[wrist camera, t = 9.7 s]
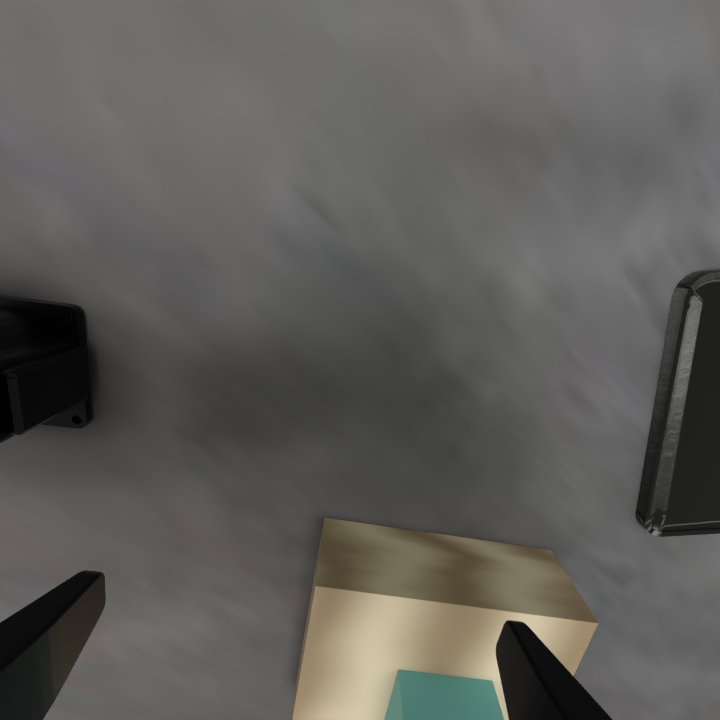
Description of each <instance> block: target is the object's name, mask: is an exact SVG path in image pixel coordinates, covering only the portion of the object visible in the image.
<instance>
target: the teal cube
mask: <svg viewBox="0 0 720 720" xmlns="http://www.w3.org/2000/svg"><path fill="white" fill-rule="evenodd" d="M384 720H504V717H503V714H502V710H501V707H500V704H499V701H498V697H497V694H496V691H495V688H494V684H493V681H490V680H482V679H474V678H465V677H457V676H449V675H441V674H433V673H425V672H416V671H408V670H400V669H398V672H397V676H396V679H395V683H394V687H393V690H392V694H391V697H390V701H389V704H388V708H387V712H386V715H385V719H384Z"/></svg>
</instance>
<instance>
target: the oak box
mask: <svg viewBox="0 0 720 720" xmlns="http://www.w3.org/2000/svg"><path fill="white" fill-rule="evenodd" d="M507 620H512V621H521V622H524V623H525V624H526V625H528V626H529V628H530V629H531V630H532V631H533V632H534V633H535V634H536V635H537V636H538V638H539V639H540V640H541V641H542V642H543V643H544V644H545V645H546V646H547V648H548V649H549V650H550V651H551V652H552V653H553V654H554V655H555V656H556V658H557V659H558V660H559V661H560V662H561V663H562V664H563V665H564V666H565V668H566V669H567V670H568V671H569V672H570V673H571V674H572V675H574V673H575V671H576V669H577V667H578V665H579V663H580V661H581V659H582V657H583V654H584V652H585V650H586V648H587V646H588V644H589V642H590V640H591V638H592V636H593V633H594V631H595V629H596V627H597V625H598V622H597V621H596V619H595V617H594V616H593V614H592V613H591V611H590V610H589V608H588V607H587V605H586V603H585V602H584V600H583V599H582V597H581V596H580V594H579V592H578V591H577V589H576V588H575V586H574V585H573V583H572V582H571V580H570V578H569V577H568V575H567V574H566V572H565V571H564V569H563V568H562V566H561V564H560V563H559V561H558V560H557V558H556V557H555V555H554V554H553V552H552V550H548V549H541V548H534V547H527V546H520V545H513V544H506V543H499V542H492V541H485V540H478V539H471V538H464V537H457V536H450V535H443V534H436V533H429V532H422V531H415V530H408V529H401V528H394V527H387V526H380V525H372V524H365V523H358V522H351V521H344V520H337V519H330V518H324V523H323V529H322V535H321V541H320V547H319V552H318V558H317V564H316V570H315V576H314V581H313V587H312V593H311V599H310V605H309V610H308V616H307V622H306V628H305V634H304V639H303V645H302V651H301V657H300V663H299V668H298V674H297V680H296V686H295V693H294V700H293V707H292V714H291V720H384V719H385V715H386V712H387V708H388V704H389V701H390V697H391V694H392V690H393V687H394V683H395V679H396V676H397V672H398V669H400V670H408V671H416V672H425V673H433V674H441V675H449V676H457V677H465V678H474V679H482V680H490V681H493V684H494V688H495V691H496V694H497V697H498V701H499V704H500V707H501V710H502V714H503V717H504V720H509V718H508V713H507V708H506V703H505V698H504V694H503V689H502V684H501V679H500V674H499V669H498V664H497V659H496V644H497V641H498V639H499V636H500V633H501V631H502V628H503V625H504V623H505V622H506V621H507Z"/></svg>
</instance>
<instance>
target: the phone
mask: <svg viewBox="0 0 720 720" xmlns="http://www.w3.org/2000/svg"><path fill="white" fill-rule="evenodd" d="M636 518H637V520H638V522H639V523H640V524H641V525H642V526H643V527H644V528H645V529H646V530H647V531H648V532H649V533H650V534H652V535H654V536H660V537H666V536H683V535H700V534H718V533H720V269H719V270H706V271H698V272H694V273H692V274H690V275H688V276H686V277H685V278H684V279H683V280H682V281H680V282H679V284H678V285H677V287H676V288H675V290H674V294H673V297H672V302H671V308H670V314H669V320H668V326H667V332H666V338H665V344H664V350H663V356H662V362H661V367H660V373H659V379H658V385H657V391H656V397H655V403H654V409H653V415H652V421H651V427H650V433H649V439H648V444H647V450H646V456H645V462H644V468H643V474H642V480H641V486H640V492H639V498H638V504H637V510H636Z"/></svg>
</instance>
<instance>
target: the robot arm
mask: <svg viewBox="0 0 720 720" xmlns="http://www.w3.org/2000/svg"><path fill="white" fill-rule="evenodd" d="M68 312H70V313H71V315H72V319H70V318H69V317H68ZM90 395H91V393H90V382H89V370H88V358H87V351H86V342H85V330H84V319H83V313H82V311H81V310H80V309H79V308H78V307H77V306H75V305H70V304H63V303H55V302H47V301H39V300H31V299H23V298H16V297H8V296H0V443H2V442H3V441H5V440H7V439H9V438H11V437H13V436H15V435H21V434H24V433H25V432H27V431H29V430H31V429H33V428H35V427H37V426H38V425H40V424H45V425H54V426H62V427H71V428H82V427H84V426H86V425H87V424H89V423H90V422H91V420H92V413H91V401H90ZM78 416H79V417H80V418H81V419H82V420H80V419H79V418H78ZM105 600H106V599H105V577H104V574H103V573H102V572H97V571H88V570H85V571H82V572H79V573H77V574H76V575H74V576H73V577H71V578H70V579H68V580H66V581H65V582H63V583H62V584H60V585H59V586H57V587H56V588H54V589H52V590H51V591H49V592H48V593H46V594H45V595H43V596H41V597H40V598H38V599H37V600H35V601H34V602H32V603H30V604H29V605H27V606H26V607H24V608H23V609H21V610H19V611H18V612H16V613H15V614H13V615H12V616H10V617H8V618H7V619H5V620H4V621H2V622H1V623H0V720H43V718H44V717H45V715H46V714H47V712H48V710H49V709H50V707H51V706H52V704H53V702H54V701H55V699H56V697H57V695H58V694H59V692H60V690H61V688H62V686H63V685H64V683H65V681H66V679H67V677H68V675H69V673H70V672H71V670H72V668H73V666H74V664H75V662H76V660H77V659H78V657H79V655H80V653H81V651H82V649H83V647H84V645H85V644H86V642H87V640H88V638H89V636H90V634H91V632H92V630H93V629H94V627H95V625H96V623H97V621H98V619H99V617H100V616H101V614H102V611H103V609H104V606H105ZM496 659H497V664H498V669H499V674H500V679H501V684H502V689H503V694H504V698H505V703H506V708H507V713H508V718H509V720H612V719H611V718H610V716H609V715H608V714H607V713H606V712H605V711H604V710H603V709H602V708H601V706H600V705H599V704H598V703H597V702H596V701H595V700H594V699H593V698H592V696H591V695H590V694H589V693H588V692H587V691H586V690H585V689H584V688H583V686H582V685H581V684H580V683H579V682H578V681H577V680H576V679H575V678H574V676H573V675H572V674H571V673H570V672H569V671H568V670H567V669H566V668H565V666H564V665H563V664H562V663H561V662H560V661H559V660H558V659H557V658H556V656H555V655H554V654H553V653H552V652H551V651H550V650H549V649H548V648H547V646H546V645H545V644H544V643H543V642H542V641H541V640H540V639H539V638H538V636H537V635H536V634H535V633H534V632H533V631H532V630H531V629H530V628H529V626H528V625H526V624H525V623H524V622H521V621H512V620H507V621H506V622H505V623H504V625H503V628H502V631H501V633H500V636H499V639H498V641H497V644H496Z"/></svg>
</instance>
